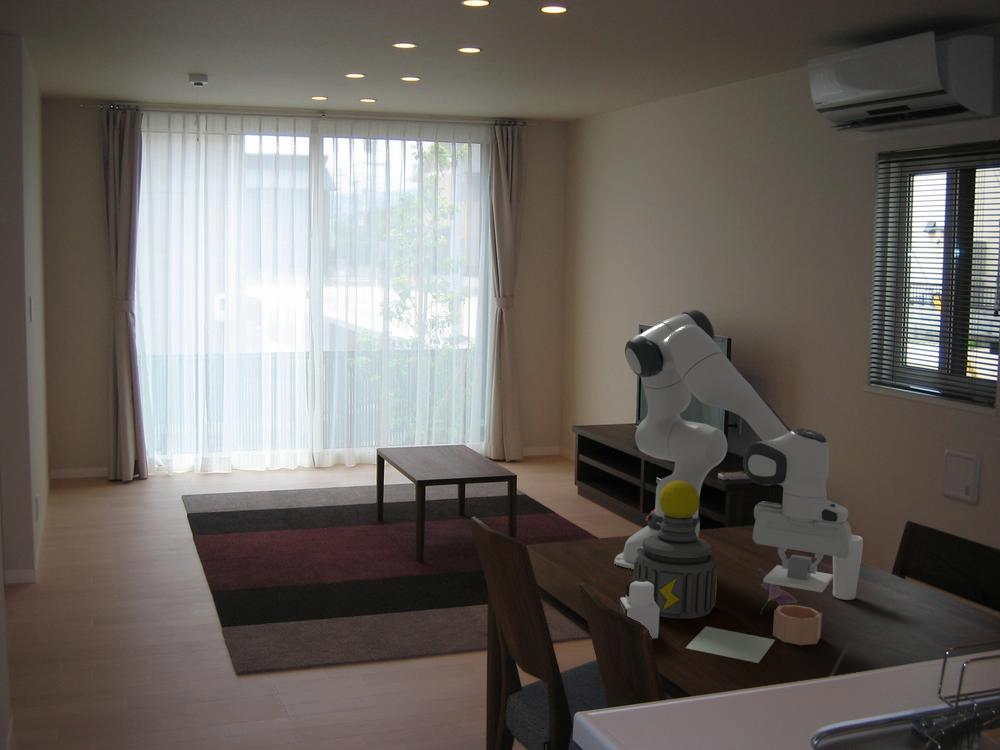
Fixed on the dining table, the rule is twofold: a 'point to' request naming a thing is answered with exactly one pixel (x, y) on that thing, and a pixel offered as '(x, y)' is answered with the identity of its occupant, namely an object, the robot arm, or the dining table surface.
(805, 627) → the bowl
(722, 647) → the mat
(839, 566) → the drinking glass
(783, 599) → the lily
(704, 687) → the dining table surface
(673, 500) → the decorative lamp
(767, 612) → the dining table surface
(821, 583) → the lid
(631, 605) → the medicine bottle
